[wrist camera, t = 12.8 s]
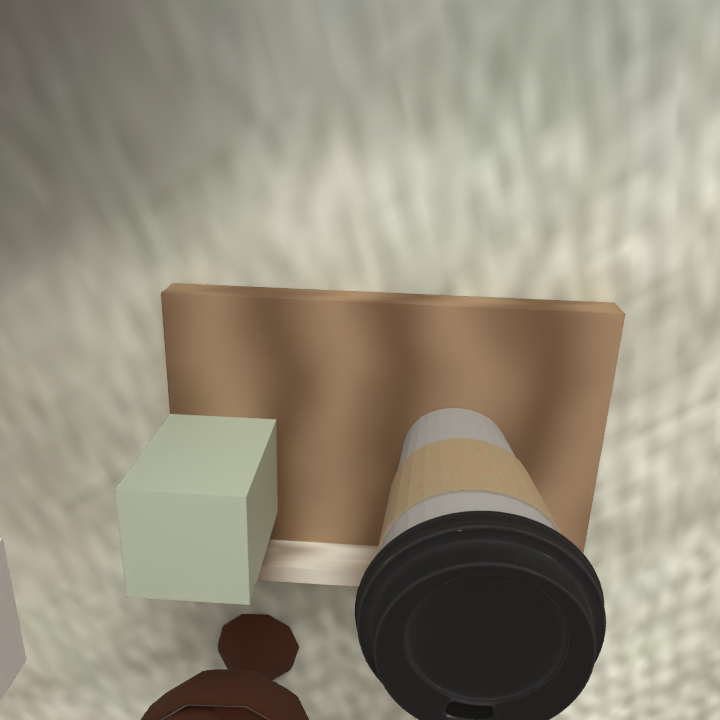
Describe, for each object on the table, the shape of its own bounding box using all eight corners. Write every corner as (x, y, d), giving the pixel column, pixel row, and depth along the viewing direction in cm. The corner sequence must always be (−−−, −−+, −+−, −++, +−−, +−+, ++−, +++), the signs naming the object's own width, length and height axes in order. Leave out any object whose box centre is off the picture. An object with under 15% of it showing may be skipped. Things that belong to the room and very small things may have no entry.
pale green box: (177, 508, 41) (127, 599, 33) (170, 414, 39) (114, 489, 31) (277, 513, 41) (249, 607, 33) (276, 419, 38) (246, 497, 31)
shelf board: (189, 531, 44) (167, 577, 40) (172, 283, 38) (144, 306, 34) (571, 554, 43) (590, 604, 39) (613, 302, 37) (641, 329, 33)
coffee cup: (403, 542, 41) (403, 775, 27) (344, 405, 38) (310, 587, 24) (559, 497, 39) (647, 720, 25) (511, 350, 36) (580, 510, 22)
